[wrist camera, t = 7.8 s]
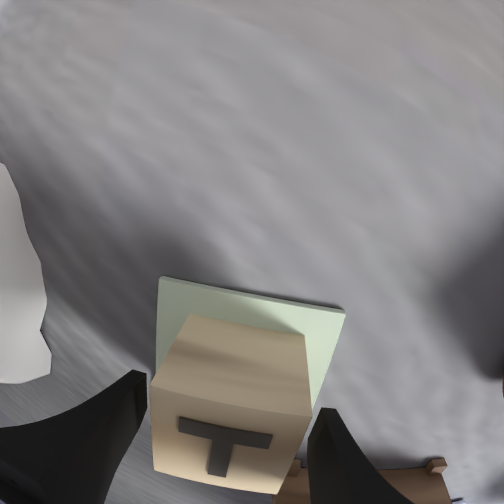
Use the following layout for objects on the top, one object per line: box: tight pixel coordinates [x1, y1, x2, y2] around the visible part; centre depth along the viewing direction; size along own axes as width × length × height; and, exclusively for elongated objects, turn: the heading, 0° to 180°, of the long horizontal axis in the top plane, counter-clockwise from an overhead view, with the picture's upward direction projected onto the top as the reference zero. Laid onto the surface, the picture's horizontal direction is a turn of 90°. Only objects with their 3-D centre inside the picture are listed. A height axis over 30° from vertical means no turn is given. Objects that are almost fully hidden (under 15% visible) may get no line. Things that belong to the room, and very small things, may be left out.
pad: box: [156, 276, 346, 409], centre depth 15 cm, size 8×8×1 cm
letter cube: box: [150, 314, 312, 494], centre depth 12 cm, size 5×5×5 cm
